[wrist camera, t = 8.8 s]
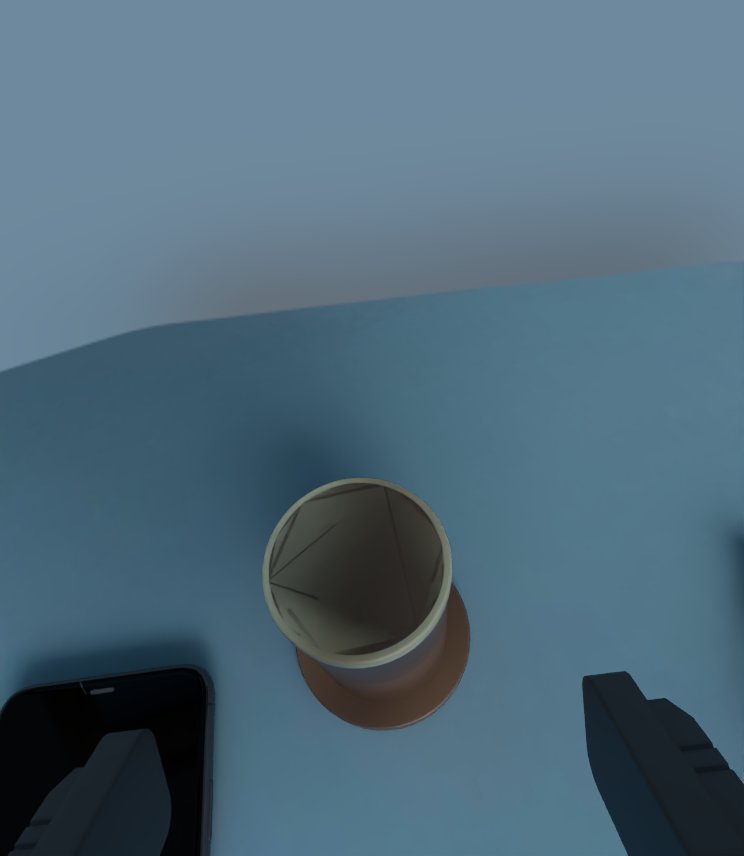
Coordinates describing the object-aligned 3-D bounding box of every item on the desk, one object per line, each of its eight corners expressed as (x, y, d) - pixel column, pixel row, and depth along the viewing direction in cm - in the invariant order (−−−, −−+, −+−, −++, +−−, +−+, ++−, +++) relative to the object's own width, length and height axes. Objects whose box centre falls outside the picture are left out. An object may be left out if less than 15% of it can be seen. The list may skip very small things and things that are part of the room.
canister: (286, 723, 19) (208, 689, 13) (310, 549, 22) (256, 451, 16) (471, 737, 18) (486, 708, 12) (468, 554, 21) (479, 454, 15)
